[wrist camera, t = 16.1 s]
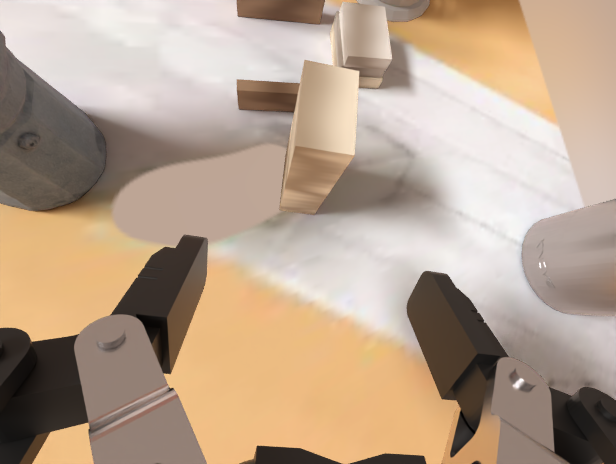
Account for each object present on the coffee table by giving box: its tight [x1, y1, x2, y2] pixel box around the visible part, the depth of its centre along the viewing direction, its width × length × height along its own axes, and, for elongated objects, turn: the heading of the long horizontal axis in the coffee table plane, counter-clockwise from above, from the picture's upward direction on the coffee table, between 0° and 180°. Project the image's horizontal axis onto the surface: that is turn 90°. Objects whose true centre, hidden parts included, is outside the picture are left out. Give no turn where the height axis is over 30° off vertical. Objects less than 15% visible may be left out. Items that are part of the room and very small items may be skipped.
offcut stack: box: [330, 2, 392, 89], centre depth 28 cm, size 4×6×4 cm
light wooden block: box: [279, 60, 359, 215], centre depth 21 cm, size 3×5×11 cm, turn 175°
